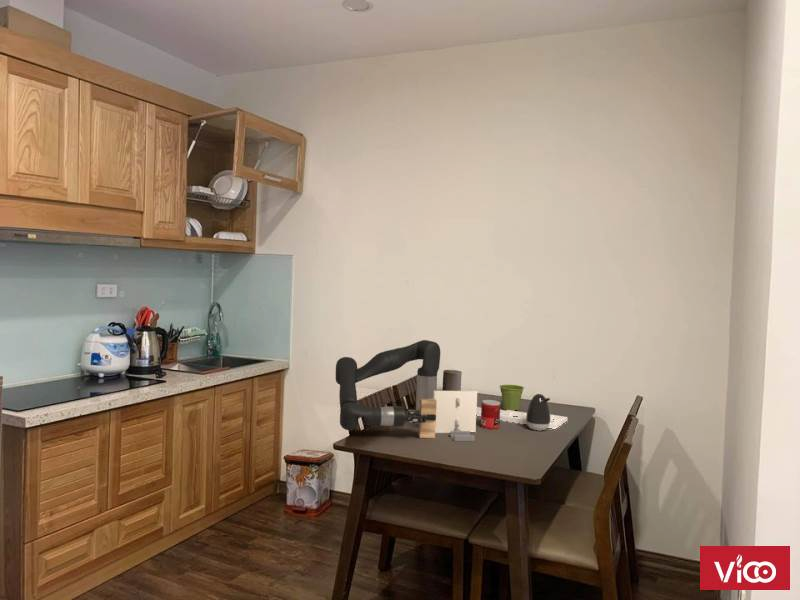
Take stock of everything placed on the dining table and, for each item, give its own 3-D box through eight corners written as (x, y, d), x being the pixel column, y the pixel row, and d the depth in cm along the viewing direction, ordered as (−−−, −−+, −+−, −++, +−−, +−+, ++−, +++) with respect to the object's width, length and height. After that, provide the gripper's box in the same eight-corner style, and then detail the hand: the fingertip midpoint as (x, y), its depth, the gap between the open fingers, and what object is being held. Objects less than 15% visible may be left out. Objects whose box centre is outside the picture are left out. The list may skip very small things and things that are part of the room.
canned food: (497, 430, 258) (498, 404, 258) (478, 428, 261) (480, 402, 260) (500, 426, 266) (502, 401, 265) (482, 424, 268) (483, 399, 268)
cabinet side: (431, 431, 252) (433, 390, 251) (474, 431, 255) (476, 390, 254) (439, 441, 238) (441, 397, 237) (484, 441, 241) (486, 398, 241)
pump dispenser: (540, 433, 256) (542, 397, 255) (520, 428, 264) (522, 393, 263) (555, 430, 262) (557, 395, 261) (535, 425, 270) (537, 390, 269)
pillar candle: (439, 397, 320) (441, 369, 319) (444, 394, 329) (446, 366, 328) (458, 400, 317) (459, 371, 316) (462, 396, 326) (463, 368, 325)
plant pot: (496, 406, 305) (498, 384, 304) (521, 407, 304) (522, 385, 304) (499, 412, 293) (500, 388, 292) (524, 413, 292) (526, 389, 292)
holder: (460, 414, 287) (460, 408, 286) (476, 408, 302) (476, 402, 302) (555, 431, 263) (555, 424, 263) (567, 423, 278) (567, 417, 278)
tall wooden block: (418, 436, 244) (419, 398, 244) (432, 436, 245) (434, 398, 245) (420, 438, 241) (421, 400, 240) (434, 438, 242) (436, 400, 241)
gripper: (394, 410, 233) (439, 410, 236) (389, 402, 247) (431, 402, 250) (394, 430, 233) (438, 430, 237) (388, 421, 247) (430, 421, 250)
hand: (434, 416), depth 243 cm, fingers closed on tall wooden block, 3 cm apart
